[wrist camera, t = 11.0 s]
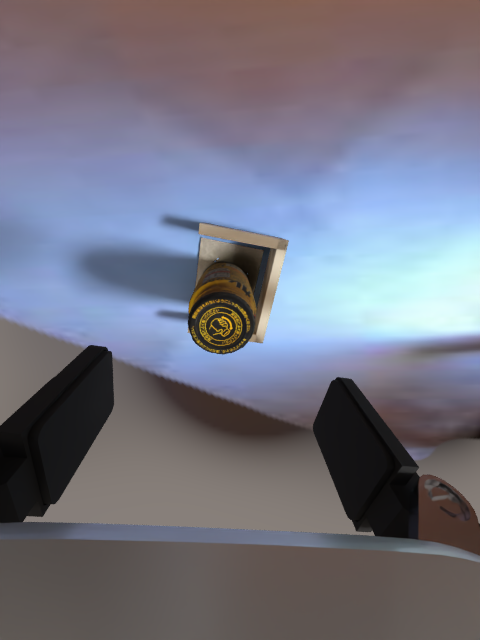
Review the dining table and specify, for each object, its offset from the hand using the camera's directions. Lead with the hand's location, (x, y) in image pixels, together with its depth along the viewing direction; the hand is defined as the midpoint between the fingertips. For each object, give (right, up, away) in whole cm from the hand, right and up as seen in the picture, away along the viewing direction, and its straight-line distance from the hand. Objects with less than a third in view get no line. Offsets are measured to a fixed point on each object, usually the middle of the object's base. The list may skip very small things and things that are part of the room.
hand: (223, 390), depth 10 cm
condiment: (-1, +8, +19) cm, 20 cm away
